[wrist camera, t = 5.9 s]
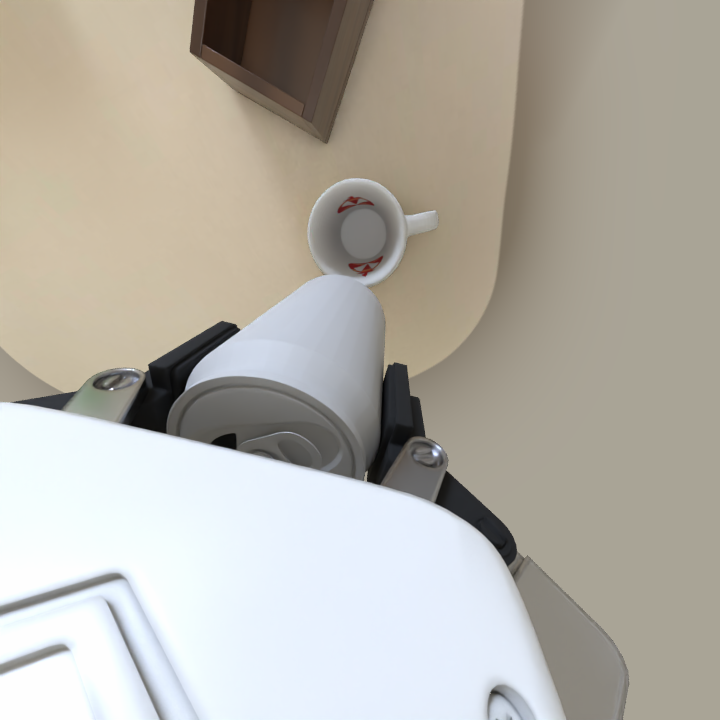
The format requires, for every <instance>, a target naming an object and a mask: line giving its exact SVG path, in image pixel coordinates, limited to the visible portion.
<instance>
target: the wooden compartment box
mask: <svg viewBox="0 0 720 720" xmlns="http://www.w3.org/2000/svg"><path fill="white" fill-rule="evenodd" d="M373 1H374V0H195V6H194V15H193V24H192V34H191V43H190V53H191V54H193V55H194V56H195V57H196V58H197V59H198V60H200V61H201V62H202V63H203V64H204V65H205V66H207V67H208V68H209V69H210V70H211V71H212V72H214V73H215V74H216V75H217V76H218V77H219V78H221V79H222V80H223V81H224V82H225V83H226V84H228V85H229V86H230V87H231V88H232V89H234V90H235V91H237V92H239V93H241V94H242V95H244V96H246V97H247V98H249V99H251V100H253V101H254V102H256V103H258V104H260V105H261V106H263V107H265V108H266V109H268V110H270V111H272V112H273V113H275V114H277V115H278V116H280V117H282V118H284V119H285V120H287V121H289V122H291V123H292V124H294V125H296V126H297V127H299V128H301V129H303V130H304V131H306V132H308V133H310V134H311V135H313V136H315V137H316V138H318V139H320V140H322V141H323V142H325V143H327V142H328V139H329V136H330V133H331V130H332V127H333V124H334V121H335V118H336V115H337V112H338V108H339V105H340V102H341V99H342V96H343V93H344V90H345V87H346V84H347V81H348V78H349V75H350V72H351V69H352V66H353V63H354V59H355V56H356V53H357V50H358V47H359V44H360V41H361V38H362V35H363V32H364V29H365V26H366V23H367V20H368V17H369V14H370V10H371V7H372V4H373Z"/></svg>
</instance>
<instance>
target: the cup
mask: <svg viewBox="0 0 720 720" xmlns="http://www.w3.org/2000/svg"><path fill="white" fill-rule="evenodd" d="M438 223H439V219H438V213H437V212H436V211H428V212H423V213H418V214H414V215H408V216H406V215H404V213H403V210H402V208H401V206H400V204H399V203H398V201H397V200H396V198H395V197H394V196H393V194H392V193H391V192H390V191H388V190H387V189H386V188H385V187H383V186H382V185H380V184H378V183H377V182H374V181H371V180H368V179H362V178H352V179H346V180H343V181H340V182H338V183H336V184H334V185H332V186H331V187H329V188H328V189H327V190H326V191H325V192H324V193H323V194H322V195H321V196H320V197H319V199H318V200H317V202H316V203H315V205H314V207H313V209H312V212H311V214H310V218H309V222H308V243H309V248H310V252H311V255H312V257H313V259H314V261H315V263H316V265H317V266H318V268H319V269H320V270H321V271H322V273H323V274H324V275H342V276H347V277H350V278H353V279H355V280H357V281H359V282H361V283H362V284H364V285H365V286H366V287H367V288H368V287H372V286H374V285H377V284H379V283H381V282H382V281H384V280H385V279H387V278H388V277H389V276H390V275H391V274H392V273H393V272H394V271H395V269H396V268H397V267H398V265H399V263H400V262H401V260H402V257H403V255H404V252H405V248H406V243H407V238H408V237H409V236H412V235H416V234H420V233H424V232H428V231H431V230H434V229H436V228H437V227H438Z"/></svg>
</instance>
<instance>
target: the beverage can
mask: <svg viewBox="0 0 720 720" xmlns="http://www.w3.org/2000/svg"><path fill="white" fill-rule="evenodd" d="M384 347H385V316H384V312H383V309H382V306H381V304H380V302H379V301H378V299H377V297H376V296H375V295H374V294H373V292H372V291H371V290H370V289H369V288H367V287H366V286H365V285H364V284H362V283H361V282H359V281H357V280H355V279H353V278H350V277H347V276H342V275H324V276H320V277H317V278H314V279H312V280H310V281H308V282H307V283H305V284H304V285H302V286H301V287H300V288H298V289H297V290H296V291H294V292H293V293H292V294H290V295H289V296H287V297H286V298H285V299H283V300H282V301H281V302H279V303H278V304H276V305H275V306H274V307H272V308H271V309H270V310H268V311H267V312H265V313H264V314H263V315H261V316H260V317H259V318H257V319H256V320H254V321H253V322H252V323H250V324H249V325H248V326H246V327H245V328H243V329H242V330H241V331H239V332H238V333H237V334H235V335H234V336H232V337H231V338H230V339H228V340H227V341H226V342H224V343H223V344H221V345H220V346H219V347H217V348H216V349H215V350H213V351H212V352H210V353H209V354H208V355H206V356H205V357H204V358H203V359H202V360H201V361H200V362H199V363H198V364H197V365H196V366H195V368H194V369H193V371H192V373H191V374H190V376H189V378H188V381H187V384H186V388H185V392H184V393H183V394H181V395H180V396H179V398H178V399H177V400H176V401H175V402H174V404H173V406H172V408H171V409H170V412H169V415H168V419H167V434H168V435H173V436H177V437H181V438H186V439H190V440H194V441H199V442H203V443H207V444H211V445H216V446H220V447H224V448H228V449H233V450H237V451H241V452H245V453H250V454H254V455H258V456H262V457H267V458H271V459H275V460H279V461H283V462H287V463H292V464H296V465H300V466H304V467H308V468H312V469H316V470H321V471H325V472H329V473H333V474H337V475H341V476H345V477H349V478H353V479H357V480H361V481H364V476H365V472H366V471H367V470H368V469H369V468H370V466H371V465H372V463H373V462H374V460H375V457H376V454H377V452H378V448H379V445H380V436H381V414H382V392H383V369H384Z"/></svg>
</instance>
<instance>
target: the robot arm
mask: <svg viewBox="0 0 720 720" xmlns="http://www.w3.org/2000/svg"><path fill="white" fill-rule="evenodd" d="M239 331H241V330H240V329H239V328H237V325H236V324H232V323H228V322H224V321H221V322H219V323H217V324H216V325H214V326H212V327H211V328H209V329H207V330H206V331H204V332H202V333H201V334H199V335H197V336H196V337H194V338H192V339H191V340H189V341H187V342H185V343H184V344H182V345H180V346H179V347H177V348H175V349H174V350H172V351H170V352H169V353H167V354H165V355H164V356H162V357H160V358H158V359H157V360H155V361H153V362H152V363H150V364H148V366H149V370H148V371H147V372H145V373H144V372H142V371H141V370H138V369H135V368H115V369H110V370H106V371H103V372H100V373H98V374H96V375H94V376H92V377H91V378H89V379H88V380H87V381H86V382H85V383H84V385H83V386H82V387H81V388H80V389H79V390H78V391H76V392H70V393H64V394H58V395H53V396H46V397H41V398H34V399H29V400H22V401H16V402H10V403H8V402H0V720H623V714H624V709H625V703H626V698H627V692H628V687H629V675H628V669H627V667H626V664H625V661H624V659H623V656H622V655H621V653H620V651H619V650H618V648H617V647H616V645H615V643H614V642H613V640H612V639H611V638H610V637H609V636H608V635H607V633H606V632H605V631H604V630H603V629H602V628H601V627H600V626H599V625H598V624H597V623H596V622H595V621H594V620H593V619H592V618H591V617H590V616H589V615H588V614H587V613H586V612H585V611H584V610H583V609H582V608H581V607H580V606H579V605H578V604H576V602H574V600H573V599H572V598H571V597H570V596H569V595H568V594H566V592H564V591H563V590H562V589H561V588H560V587H559V586H558V585H557V584H556V583H555V582H554V581H553V580H552V579H551V578H550V577H549V576H548V575H547V574H546V573H545V572H544V571H543V570H542V569H541V568H540V567H539V566H538V565H537V564H536V563H535V562H534V561H533V560H532V559H531V558H530V557H529V556H526V557H525V558H523V557H522V556H521V555H520V554H519V553H518V552H517V549H516V543H515V541H514V538H513V536H512V534H511V533H510V531H509V530H508V528H507V527H506V526H505V525H504V524H503V523H502V522H501V520H499V519H498V518H497V517H496V516H495V515H494V514H493V513H492V512H491V511H490V510H489V509H488V508H486V507H485V506H484V505H483V504H482V503H481V502H480V501H479V500H478V499H477V498H476V497H475V496H473V495H472V494H471V493H470V492H469V491H468V490H467V489H466V488H465V487H464V486H463V485H462V484H460V483H459V482H458V481H457V480H456V479H455V478H454V477H453V476H452V475H451V474H449V473H448V472H447V471H446V469H447V466H448V457H447V454H446V453H445V451H444V450H443V448H442V447H441V446H440V445H439V444H437V443H436V442H434V441H433V440H431V439H428V438H426V437H425V430H424V424H423V418H422V411H421V405H420V400H419V398H418V397H414V396H410V390H409V381H408V372H407V365H403V364H399V363H395V362H394V364H393V365H390V364H389V365H388V368H387V371H386V375H385V378H384V381H383V392H382V414H381V436H380V445H379V448H378V452H377V454H376V457H375V460H374V462H373V463H372V465H371V466H370V468H369V469H368V475H367V482H364V481H361V480H357V479H353V478H349V477H345V476H341V475H337V474H333V473H329V472H325V471H321V470H316V469H312V468H308V467H304V466H300V465H296V464H292V463H287V462H283V461H279V460H275V459H271V458H267V457H262V456H258V455H254V454H250V453H245V452H241V451H237V450H233V449H228V448H224V447H220V446H216V445H211V444H207V443H203V442H199V441H194V440H190V439H186V438H181V437H177V436H173V435H168V434H167V419H168V415H169V412H170V409H171V408H172V406H173V404H174V402H175V401H176V400H177V399H178V398H179V396H180V395H181V394H183V393H184V392H185V388H186V384H187V381H188V378H189V376H190V374H191V373H192V371H193V369H194V368H195V366H196V365H197V364H198V363H199V362H200V361H201V360H202V359H203V358H204V357H205V356H206V355H208V354H209V353H210V352H212V351H213V350H215V349H216V348H217V347H219V346H220V345H221V344H223V343H224V342H226V341H227V340H228V339H230V338H231V337H232V336H234V335H235V334H237V333H238V332H239ZM369 482H370V483H369ZM490 693H491V694H490Z"/></svg>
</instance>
